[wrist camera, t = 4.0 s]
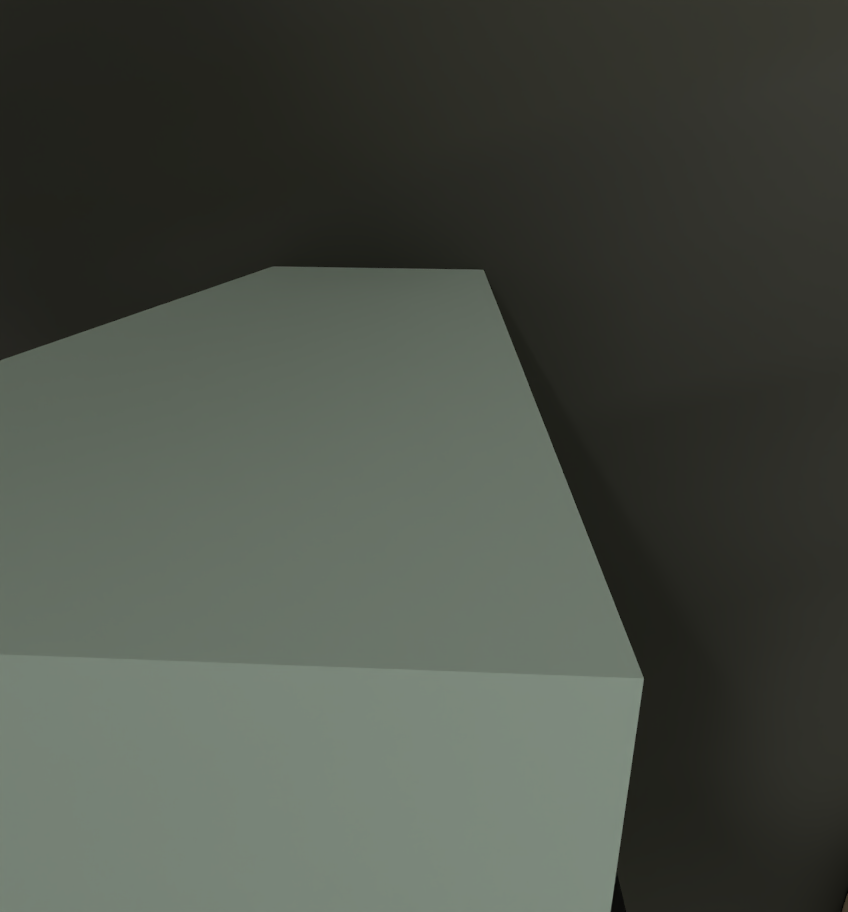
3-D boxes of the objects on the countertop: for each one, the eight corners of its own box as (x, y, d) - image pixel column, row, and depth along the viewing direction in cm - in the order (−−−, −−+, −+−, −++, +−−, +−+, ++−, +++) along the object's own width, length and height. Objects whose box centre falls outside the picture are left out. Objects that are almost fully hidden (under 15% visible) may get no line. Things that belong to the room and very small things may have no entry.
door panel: (272, 266, 10) (-775, 629, 1) (483, 270, 10) (646, 678, 1) (310, 881, 14) (87, 1905, 6) (459, 888, 14) (462, 1946, 5)
